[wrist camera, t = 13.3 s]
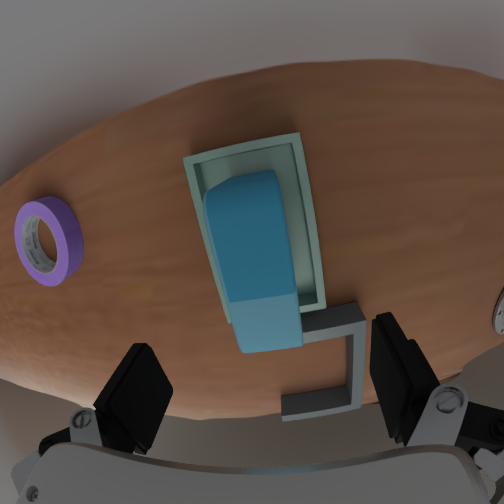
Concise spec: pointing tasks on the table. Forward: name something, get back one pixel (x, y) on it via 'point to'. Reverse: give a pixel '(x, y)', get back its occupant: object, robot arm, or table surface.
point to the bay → (350, 395)
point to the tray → (293, 195)
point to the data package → (254, 261)
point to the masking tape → (64, 235)
